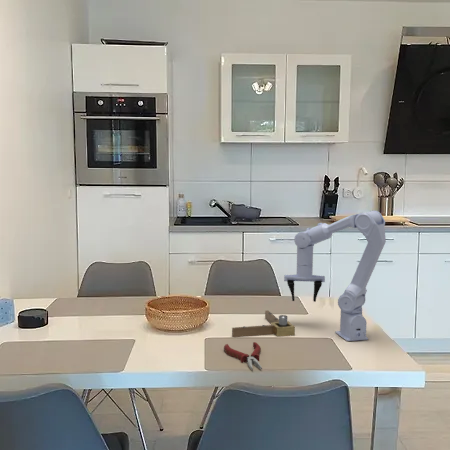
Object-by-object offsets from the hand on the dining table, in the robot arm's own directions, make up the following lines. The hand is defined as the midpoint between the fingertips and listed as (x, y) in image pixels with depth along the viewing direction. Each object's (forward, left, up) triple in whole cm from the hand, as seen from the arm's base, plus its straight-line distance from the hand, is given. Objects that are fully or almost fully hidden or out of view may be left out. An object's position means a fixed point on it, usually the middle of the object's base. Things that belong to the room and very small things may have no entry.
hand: (303, 300), depth 197 cm
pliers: (-26, +31, -10) cm, 42 cm away
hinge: (+1, +18, -9) cm, 20 cm away
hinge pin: (-6, +10, -9) cm, 15 cm away
